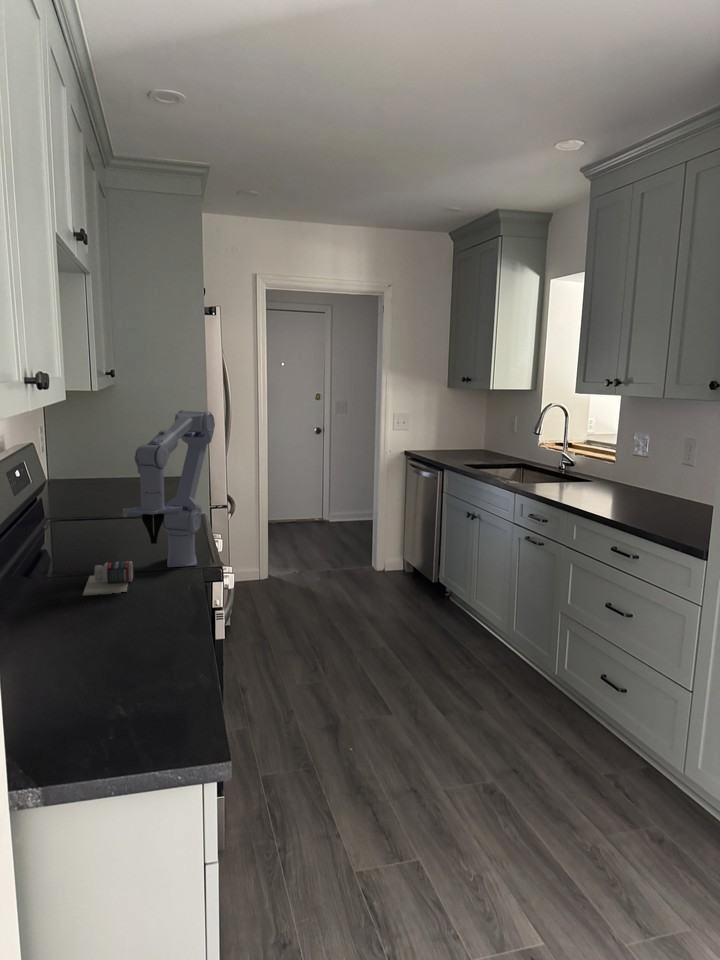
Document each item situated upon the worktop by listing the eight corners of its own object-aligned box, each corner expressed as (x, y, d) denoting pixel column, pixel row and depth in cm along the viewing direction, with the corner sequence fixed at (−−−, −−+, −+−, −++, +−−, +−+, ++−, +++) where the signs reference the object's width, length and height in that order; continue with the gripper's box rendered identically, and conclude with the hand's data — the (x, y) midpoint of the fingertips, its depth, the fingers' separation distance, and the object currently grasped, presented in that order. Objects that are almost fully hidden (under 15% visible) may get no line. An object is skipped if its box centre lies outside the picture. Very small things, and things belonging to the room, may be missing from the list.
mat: (89, 577, 170) (89, 575, 170) (130, 574, 173) (129, 573, 173) (82, 595, 157) (82, 594, 157) (126, 592, 160) (126, 591, 160)
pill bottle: (131, 565, 164) (93, 567, 162) (132, 584, 165) (94, 586, 163) (132, 558, 169) (96, 560, 166) (133, 577, 170) (97, 579, 168)
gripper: (121, 495, 160) (123, 548, 163) (182, 493, 164) (183, 545, 167) (123, 489, 167) (125, 540, 169) (181, 488, 171) (182, 538, 173)
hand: (154, 542), depth 168 cm, fingers closed
